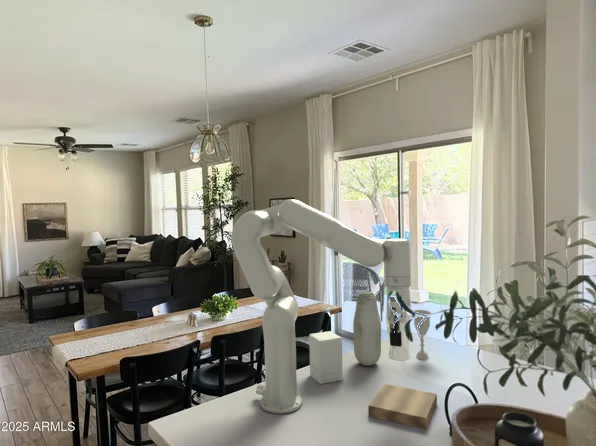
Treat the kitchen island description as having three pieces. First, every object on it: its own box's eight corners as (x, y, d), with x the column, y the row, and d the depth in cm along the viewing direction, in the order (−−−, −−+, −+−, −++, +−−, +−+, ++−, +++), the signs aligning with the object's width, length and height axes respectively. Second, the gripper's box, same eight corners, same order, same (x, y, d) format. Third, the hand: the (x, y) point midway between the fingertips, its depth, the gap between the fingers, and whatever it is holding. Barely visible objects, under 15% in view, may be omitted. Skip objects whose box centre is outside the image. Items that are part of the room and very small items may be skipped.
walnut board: (368, 415, 117) (368, 405, 117) (384, 393, 131) (384, 383, 131) (426, 429, 109) (426, 418, 109) (436, 403, 123) (436, 393, 123)
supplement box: (343, 380, 142) (343, 337, 141) (320, 384, 138) (319, 341, 138) (331, 370, 150) (331, 330, 150) (309, 374, 147) (308, 333, 146)
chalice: (410, 354, 164) (409, 310, 164) (425, 353, 166) (425, 309, 165) (418, 361, 157) (418, 315, 157) (434, 360, 158) (434, 313, 158)
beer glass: (412, 362, 116) (411, 309, 115) (387, 361, 117) (386, 309, 117) (410, 353, 123) (409, 303, 122) (387, 352, 124) (385, 303, 124)
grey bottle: (358, 357, 162) (357, 287, 161) (384, 361, 158) (383, 289, 157) (350, 366, 153) (349, 292, 152) (377, 371, 149) (376, 294, 148)
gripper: (402, 287, 110) (404, 353, 110) (417, 276, 125) (418, 335, 126) (375, 285, 113) (377, 349, 114) (392, 275, 129) (394, 332, 129)
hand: (399, 341), depth 120 cm, fingers closed on beer glass, 6 cm apart
